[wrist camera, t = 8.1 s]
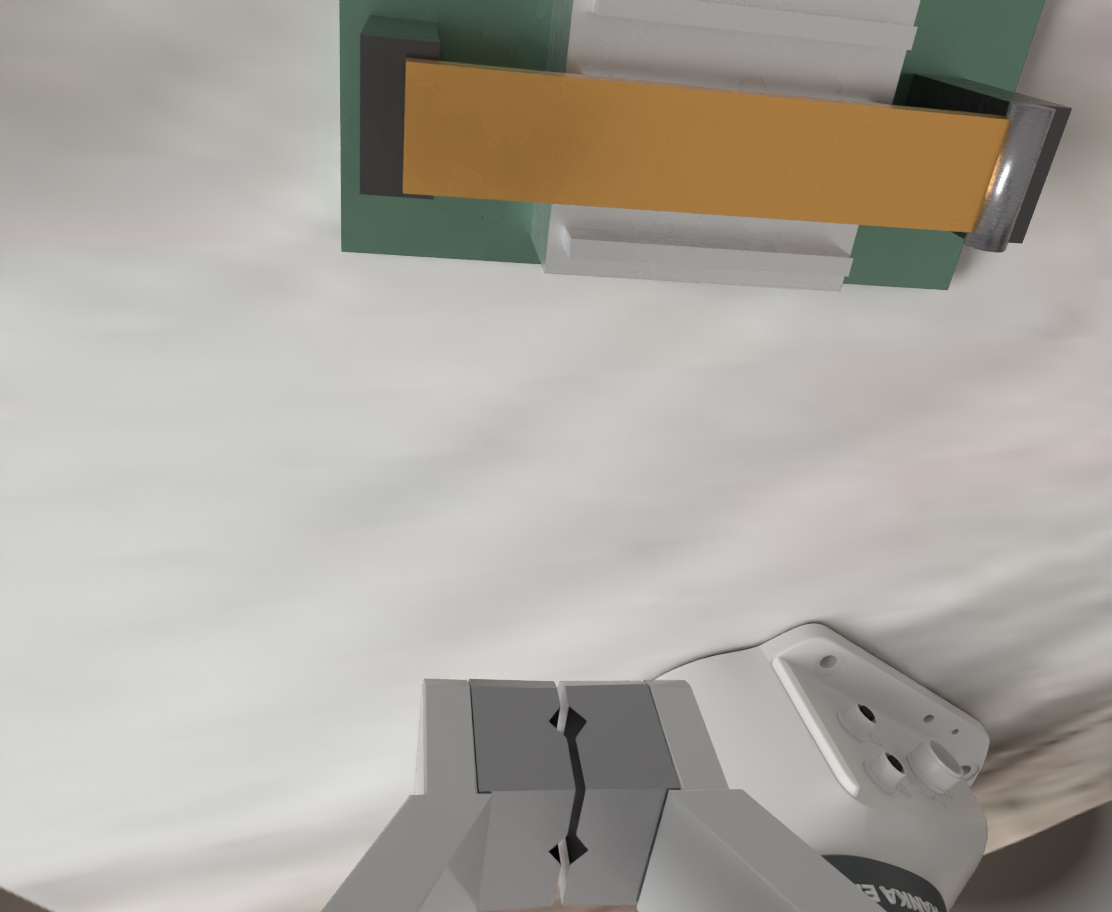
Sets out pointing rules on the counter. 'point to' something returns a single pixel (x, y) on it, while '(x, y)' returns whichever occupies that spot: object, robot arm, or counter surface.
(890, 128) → the strap
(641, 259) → the heatsink mount
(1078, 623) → the counter surface
